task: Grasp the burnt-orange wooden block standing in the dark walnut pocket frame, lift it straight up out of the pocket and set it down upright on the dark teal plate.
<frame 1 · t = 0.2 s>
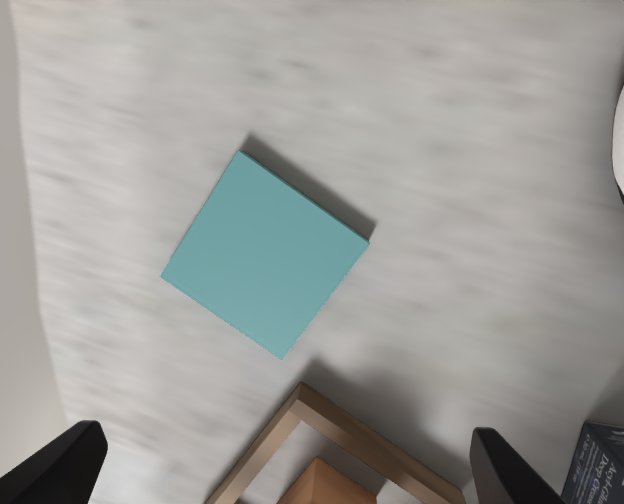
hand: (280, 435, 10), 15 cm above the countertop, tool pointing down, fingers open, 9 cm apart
pocket frame: (325, 501, 28), on the countertop
box: (608, 477, 26), on the countertop
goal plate: (264, 256, 25), on the countertop
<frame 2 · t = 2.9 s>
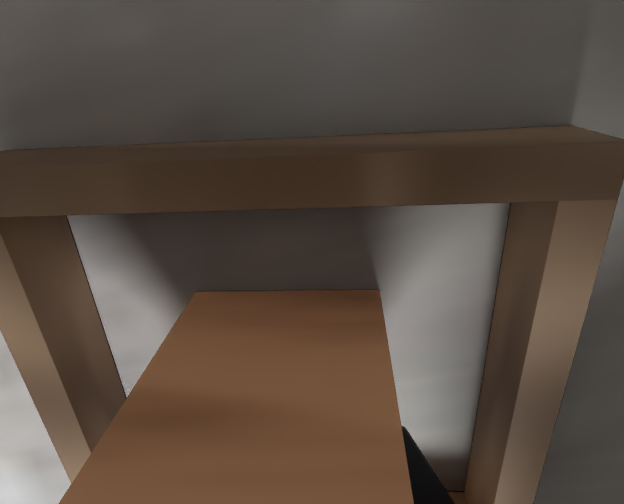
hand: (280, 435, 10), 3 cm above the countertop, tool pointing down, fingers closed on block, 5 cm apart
block: (270, 495, 8), in the pocket frame, touching gripper
pocket frame: (292, 364, 12), on the countertop
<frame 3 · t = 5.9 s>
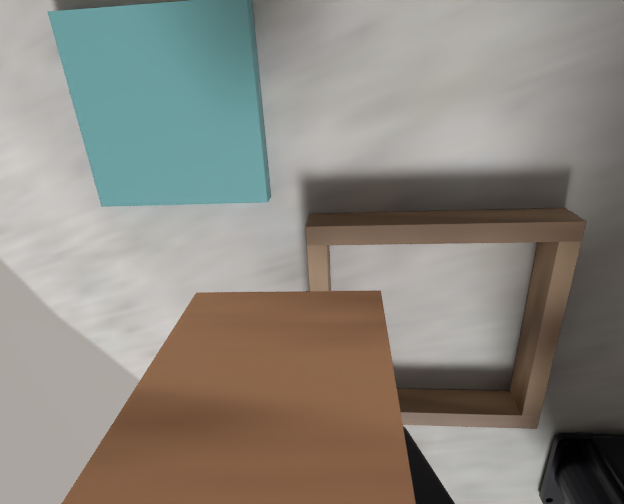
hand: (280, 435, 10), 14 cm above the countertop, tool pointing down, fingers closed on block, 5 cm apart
block: (271, 496, 8), point 15 cm above the countertop, touching gripper
pocket frame: (425, 316, 24), on the countertop
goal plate: (173, 111, 20), on the countertop
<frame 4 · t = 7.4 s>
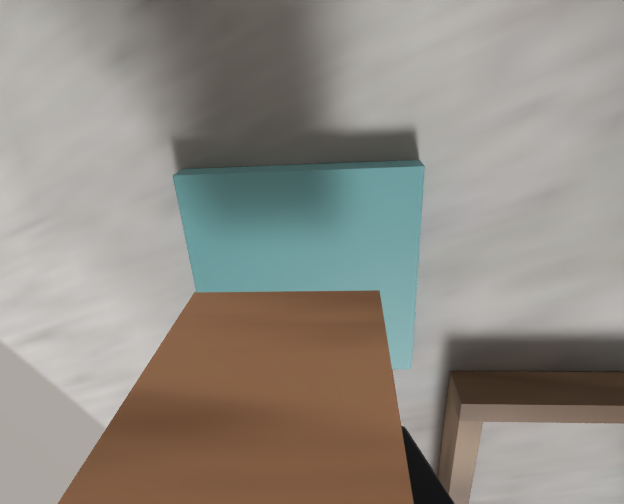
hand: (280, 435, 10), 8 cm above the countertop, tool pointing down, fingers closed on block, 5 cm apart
block: (269, 497, 8), point 10 cm above the countertop, touching gripper
pocket frame: (565, 468, 21), on the countertop
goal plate: (305, 270, 17), on the countertop
when the fingers open (5 cm above the countertop, at t = 8.8 s): block drops 1 cm, resting on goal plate.
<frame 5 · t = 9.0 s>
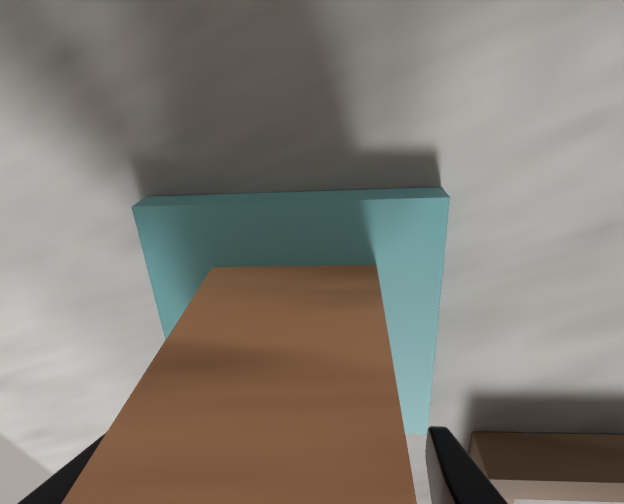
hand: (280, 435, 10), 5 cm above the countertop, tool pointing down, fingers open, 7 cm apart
block: (281, 436, 10), on the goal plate, point 5 cm above the countertop
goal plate: (299, 316, 14), on the countertop
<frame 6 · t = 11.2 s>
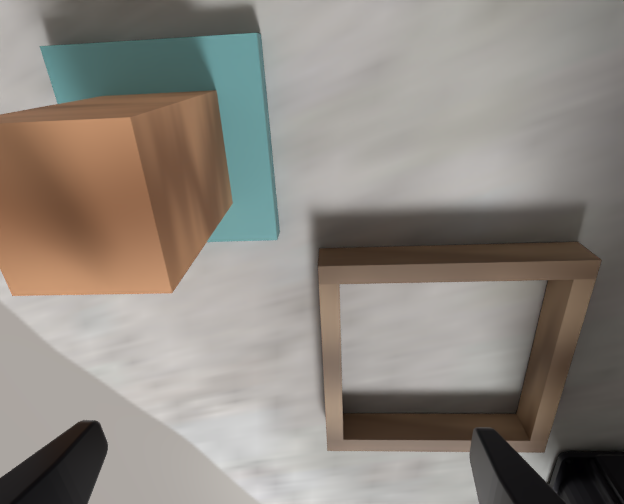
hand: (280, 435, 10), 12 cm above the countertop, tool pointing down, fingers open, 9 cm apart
block: (130, 176, 15), on the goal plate, point 5 cm above the countertop
pocket frame: (435, 345, 23), on the countertop
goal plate: (177, 147, 19), on the countertop
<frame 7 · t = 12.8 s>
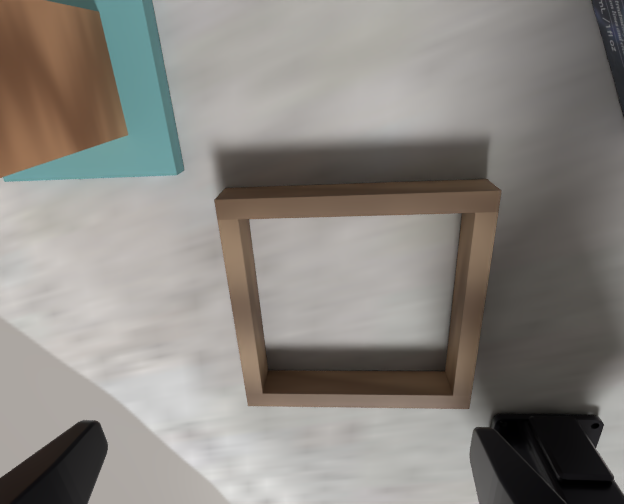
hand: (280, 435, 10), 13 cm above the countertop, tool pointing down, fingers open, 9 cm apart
pocket frame: (354, 295, 23), on the countertop
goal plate: (73, 79, 19), on the countertop
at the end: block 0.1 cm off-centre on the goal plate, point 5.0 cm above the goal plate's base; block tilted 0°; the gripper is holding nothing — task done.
